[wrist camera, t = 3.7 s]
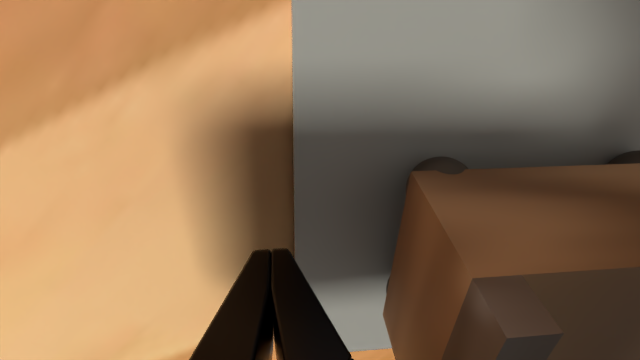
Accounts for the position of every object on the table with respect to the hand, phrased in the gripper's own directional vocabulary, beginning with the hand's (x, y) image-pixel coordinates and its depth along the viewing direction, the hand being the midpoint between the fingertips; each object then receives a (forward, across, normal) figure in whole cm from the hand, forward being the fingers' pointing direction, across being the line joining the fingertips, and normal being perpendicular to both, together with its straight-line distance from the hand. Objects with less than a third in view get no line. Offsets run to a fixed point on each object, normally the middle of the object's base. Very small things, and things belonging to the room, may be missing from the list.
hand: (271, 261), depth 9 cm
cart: (+1, -7, 0) cm, 7 cm away
